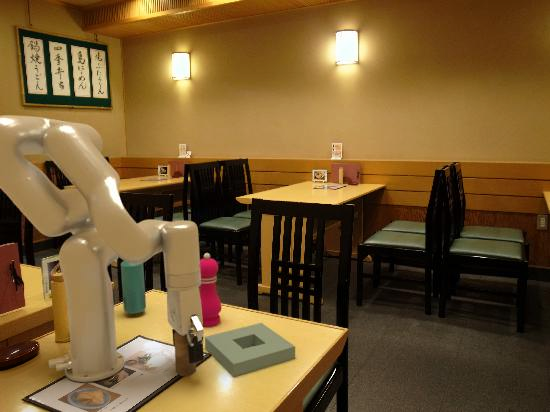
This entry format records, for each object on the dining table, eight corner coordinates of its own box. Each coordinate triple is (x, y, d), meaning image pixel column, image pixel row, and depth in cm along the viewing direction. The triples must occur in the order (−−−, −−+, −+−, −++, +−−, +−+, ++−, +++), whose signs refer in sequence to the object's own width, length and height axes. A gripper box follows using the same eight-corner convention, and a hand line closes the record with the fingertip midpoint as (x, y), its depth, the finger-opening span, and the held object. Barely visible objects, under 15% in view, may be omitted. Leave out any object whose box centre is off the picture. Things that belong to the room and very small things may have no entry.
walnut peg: (179, 378, 102) (178, 339, 100) (173, 369, 105) (171, 331, 104) (198, 372, 104) (197, 334, 102) (191, 364, 108) (190, 327, 106)
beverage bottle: (151, 312, 138) (148, 246, 135) (133, 320, 133) (129, 251, 129) (136, 308, 142) (132, 244, 138) (118, 315, 136) (114, 248, 133)
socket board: (234, 377, 102) (233, 364, 101) (205, 348, 115) (204, 336, 115) (295, 358, 110) (295, 346, 110) (261, 333, 124) (261, 322, 123)
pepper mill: (208, 330, 126) (206, 258, 123) (190, 323, 130) (187, 253, 127) (227, 321, 132) (225, 252, 128) (208, 315, 136) (206, 248, 133)
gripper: (154, 271, 107) (159, 342, 109) (180, 292, 92) (185, 374, 95) (185, 266, 110) (189, 334, 113) (215, 285, 96) (219, 363, 98)
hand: (188, 352), depth 104 cm, fingers open, 9 cm apart
